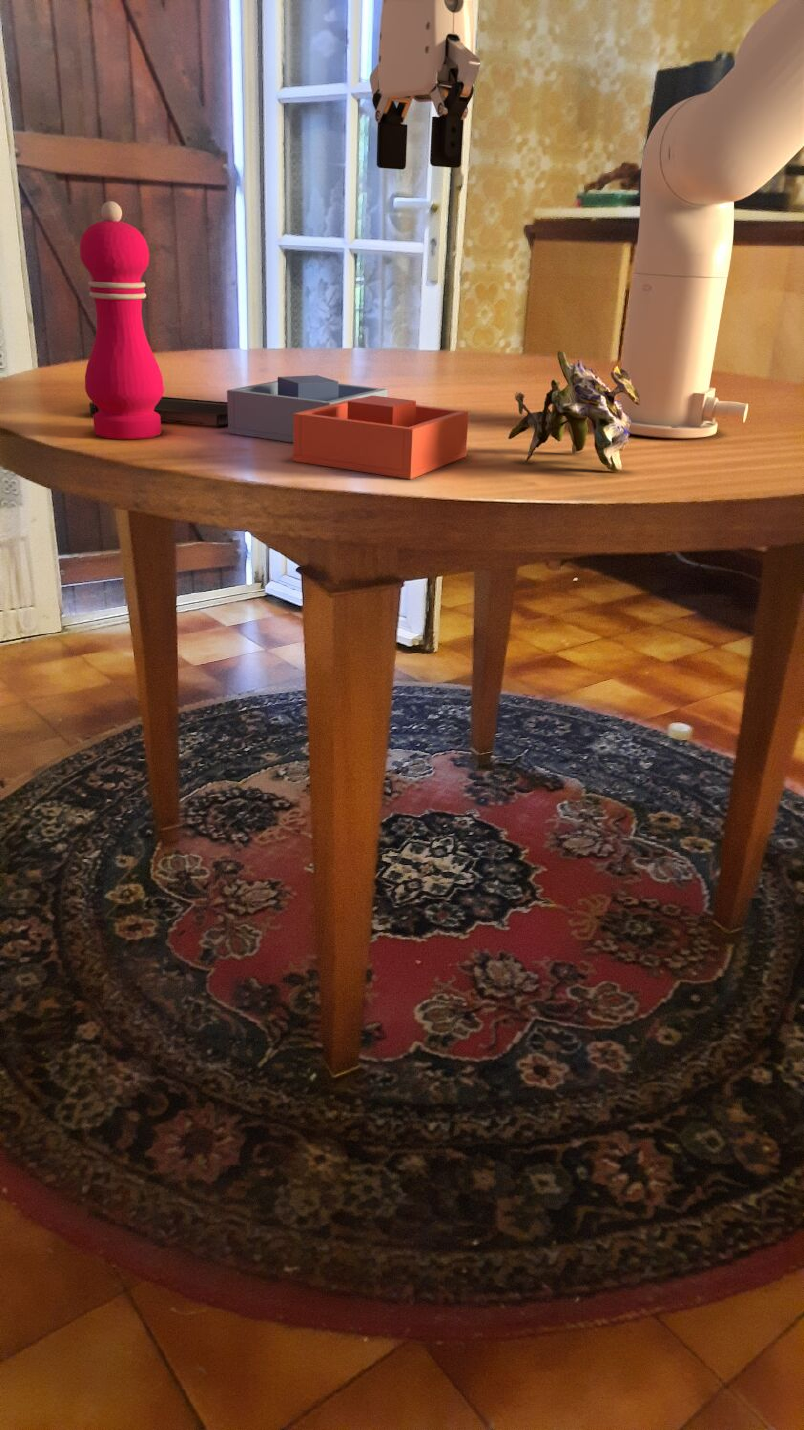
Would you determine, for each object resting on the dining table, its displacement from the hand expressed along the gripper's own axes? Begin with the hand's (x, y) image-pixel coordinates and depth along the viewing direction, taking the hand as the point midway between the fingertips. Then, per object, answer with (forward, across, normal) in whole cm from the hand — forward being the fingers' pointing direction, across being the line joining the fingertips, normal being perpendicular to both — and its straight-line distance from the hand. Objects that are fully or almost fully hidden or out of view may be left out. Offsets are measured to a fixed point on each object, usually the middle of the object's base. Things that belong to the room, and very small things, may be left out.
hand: (417, 167), depth 100 cm
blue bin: (+24, -2, +13) cm, 28 cm away
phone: (+24, +11, +23) cm, 35 cm away
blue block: (+24, -2, +13) cm, 27 cm away
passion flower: (+24, -24, -2) cm, 35 cm away
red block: (+24, -16, +13) cm, 31 cm away
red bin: (+24, -16, +13) cm, 32 cm away
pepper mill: (+24, +3, +30) cm, 39 cm away
